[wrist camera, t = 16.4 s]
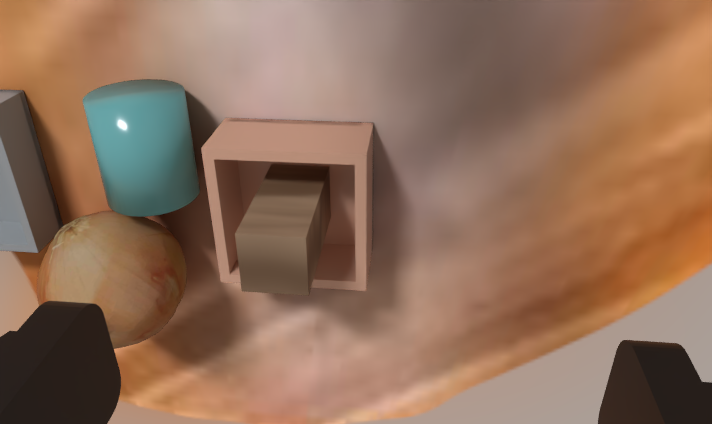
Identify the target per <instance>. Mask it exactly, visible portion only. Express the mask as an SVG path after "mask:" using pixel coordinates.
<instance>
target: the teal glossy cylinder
mask: <svg viewBox="0 0 712 424" xmlns="http://www.w3.org/2000/svg"><path fill="white" fill-rule="evenodd" d="M83 104H84V109H85V113H86V117H87V121H88V125H89V129H90V133H91V137H92V141H93V145H94V149H95V153H96V157H97V162H98V166H99V170H100V174H101V178H102V182H103V186H104V190H105V194H106V198H107V202H108V205H109V207H110V208H111V209H112V210H113V211H115V212H117V213H119V214H122V215H127V216H137V217H144V216H155V215H161V214H165V213H169V212H172V211H175V210H178V209H180V208H182V207H184V206H186V205H188V204H189V203H191V202H192V201H193V200H194V199H195V198H196V197H197V196H198V194H199V192H200V186H199V180H198V173H197V167H196V161H195V154H194V148H193V141H192V135H191V128H190V122H189V115H188V109H187V102H186V96H185V89H184V87H183V86H182V85H180V84H178V83H175V82H172V81H167V80H152V79H143V80H131V81H124V82H118V83H114V84H110V85H106V86H103V87H100V88H97V89H95V90H93V91H91V92H89V93H88V94H87V95H86V96H85V97H84V98H83Z"/></svg>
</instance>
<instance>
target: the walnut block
mask: <svg viewBox="0 0 712 424" xmlns="http://www.w3.org/2000/svg"><path fill="white" fill-rule="evenodd" d="M330 218H331V207H330V170H329V167H325V166H303V165H281V164H271V166H270V168H269V170H268V172H267V174H266V176H265V178H264V180H263V181H262V183H261V185H260V187H259V189H258V191H257V193H256V195H255V197H254V198H253V200H252V202H251V204H250V206H249V208H248V210H247V212H246V214H245V216H244V217H243V219H242V221H241V223H240V225H239V227H238V229H237V231H236V233H235V239H236V247H237V255H238V263H239V272H240V280H241V288H242V291H247V292H262V293H277V294H292V295H307V296H309V293H310V290H311V286H312V282H313V279H314V275H315V272H316V268H317V265H318V261H319V257H320V254H321V250H322V247H323V243H324V240H325V236H326V233H327V229H328V225H329V222H330Z"/></svg>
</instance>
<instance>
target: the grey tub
mask: <svg viewBox="0 0 712 424" xmlns="http://www.w3.org/2000/svg"><path fill="white" fill-rule="evenodd" d="M62 227H63V223H62V220H61V217H60V213H59V210H58V206H57V203H56V200H55V196H54V193H53V189H52V186H51V183H50V179H49V176H48V172H47V169H46V166H45V162H44V159H43V155H42V152H41V149H40V145H39V142H38V138H37V135H36V132H35V128H34V125H33V121H32V118H31V115H30V111H29V108H28V104H27V101H26V98H25V94H24V91H23V90H0V251H16V252H33V253H39V252H40V251H41V250H42V249H43V248H44V247H45V246H46V245H47V244H48V243H49V242H50V241H51V240H52V239H53V238H54V237H55V235H56V234H57V232H58V231H59V230H60V229H61V228H62Z"/></svg>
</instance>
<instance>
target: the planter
mask: <svg viewBox="0 0 712 424" xmlns="http://www.w3.org/2000/svg"><path fill="white" fill-rule="evenodd" d="M201 151H202V158H203V165H204V171H205V178H206V185H207V192H208V198H209V205H210V212H211V219H212V225H213V232H214V239H215V246H216V252H217V259H218V266H219V273H220V280H221V282H226V283H241V280H240V272H239V263H238V255H237V247H236V239H235V233H236V231H237V229H238V227H239V225H240V223H241V221H242V219H243V217H244V216H245V214H246V212H247V210H248V208H249V206H250V204H251V202H252V200H253V198H254V197H255V195H256V193H257V191H258V189H259V187H260V185H261V183H262V181H263V180H264V178H265V176H266V174H267V172H268V170H269V168H270V166H271V164H281V165H303V166H325V167H329V170H330V207H331V218H330V222H329V225H328V229H327V233H326V236H325V240H324V243H323V247H322V250H321V254H320V257H319V261H318V265H317V268H316V272H315V275H314V279H313V282H312V286H311V288H325V289H342V290H358V291H366V289H367V282H368V275H369V269H370V262H371V255H372V235H373V123H361V122H332V121H302V120H272V119H243V118H225V119H224V120H223V122H222V123H221V124H220V125H219V127H218V128H217V129H216V130H215V132H214V133H213V134H212V135H211V137H210V138H209V139H208V140H207V141H206V143H205V144H204V145H203V146H202V148H201Z"/></svg>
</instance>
